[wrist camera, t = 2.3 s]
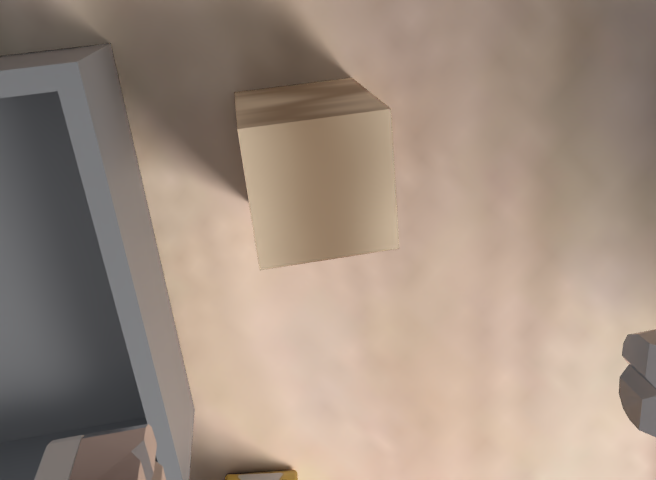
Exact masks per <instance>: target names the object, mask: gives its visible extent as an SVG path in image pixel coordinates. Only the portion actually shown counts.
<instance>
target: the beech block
mask: <svg viewBox="0 0 656 480" xmlns="http://www.w3.org/2000/svg"><path fill="white" fill-rule="evenodd" d="M234 94H235V107H236V121H237V132H238V138H239V144H240V150H241V157H242V163H243V169H244V175H245V182H246V188H247V194H248V200H249V207H250V213H251V219H252V225H253V232H254V238H255V244H256V250H257V256H258V263H259V269H260V270H264V269H271V268H277V267H284V266H290V265H297V264H303V263H309V262H316V261H322V260H329V259H335V258H342V257H348V256H354V255H361V254H367V253H374V252H380V251H387V250H393V249H399V236H398V219H397V202H396V185H395V168H394V151H393V134H392V118H391V108H389V107H388V106H387V105H385V104H384V103H383V102H382V101H380V100H379V99H378V98H377V97H375V96H374V95H373V94H372V93H370V92H369V91H368V90H367V89H365V88H364V87H363V86H361V85H360V84H359V83H358V82H356V81H355V80H354V79H353V78H344V79H336V80H329V81H321V82H313V83H305V84H297V85H289V86H281V87H273V88H265V89H257V90H250V91H242V92H234Z"/></svg>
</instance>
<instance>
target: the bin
mask: <svg viewBox="0 0 656 480" xmlns="http://www.w3.org/2000/svg"><path fill="white" fill-rule="evenodd" d="M194 411H195V409H194V405H193V401H192V396H191V392H190V388H189V383H188V379H187V374H186V370H185V366H184V361H183V357H182V353H181V348H180V344H179V340H178V335H177V331H176V326H175V322H174V318H173V313H172V309H171V305H170V300H169V296H168V292H167V287H166V283H165V279H164V274H163V270H162V265H161V261H160V257H159V252H158V248H157V244H156V239H155V235H154V231H153V226H152V222H151V217H150V213H149V209H148V204H147V200H146V196H145V191H144V187H143V183H142V178H141V174H140V170H139V165H138V161H137V156H136V152H135V148H134V143H133V139H132V135H131V130H130V126H129V122H128V117H127V113H126V108H125V104H124V100H123V95H122V91H121V87H120V82H119V78H118V74H117V69H116V65H115V60H114V56H113V52H112V47H111V43H109V44H101V45H92V46H84V47H75V48H66V49H58V50H49V51H41V52H32V53H24V54H15V55H6V56H0V480H34V478H35V476H36V473H37V470H38V468H39V465H40V462H41V459H42V457H43V454H44V451H45V449H46V446H47V445H48V444H49V443H50V442H51V441H52V440H56V439H62V438H67V437H73V436H78V435H85V434H89V433H95V432H102V431H108V430H114V429H120V428H126V427H132V426H138V425H144V424H149V425H150V426H151V427H152V429H153V433H154V436H155V439H156V443H157V448H156V457H155V461H156V462H158V463H159V464H160V465H162V466H163V469H164V473H165V477H166V480H189V477H190V464H191V451H192V437H193V424H194Z"/></svg>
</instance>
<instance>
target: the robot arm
mask: <svg viewBox="0 0 656 480" xmlns="http://www.w3.org/2000/svg"><path fill="white" fill-rule="evenodd" d="M622 356H623V357H624V359H625V360H626V361H627V362H628V364H629V365H628V367H627V368H626V369H625V371H624V372H623V373H622V375H621V376H620V381H619V396H620V399H621V403H622V406H623V409H624V411H625V413H626V414H627V416H628V418H629V420H630V421H631V422H632V423H633V424H634V425H635V426H636V427H637V428H638V429H639V430H640V431H643V432H645V433H647V434H650V435H652V436H654V437H656V329H655V330H650V331H644V332H639V333H634V334H629V335H627V337H626V339H625V341H624V343H623V351H622ZM156 448H157V443H156V439H155V436H154V433H153V429H152V427H151V426H150V425H149V424H144V425H138V426H132V427H126V428H120V429H114V430H108V431H102V432H95V433H89V434H85V435H78V436H73V437H67V438H62V439H56V440H52V441H51V442H50V443H49V444H48V445H47V446H46V449H45V451H44V454H43V457H42V459H41V462H40V465H39V468H38V470H37V473H36V476H35V478H34V480H166V477H165V473H164V469H163V466H162V465H160V464H159V463H158V462H156V461H155V457H156Z"/></svg>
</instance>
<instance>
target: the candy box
mask: <svg viewBox="0 0 656 480" xmlns="http://www.w3.org/2000/svg"><path fill="white" fill-rule="evenodd" d="M225 480H298V478H297V472H296V471H295V470H287V471H272V472H257V473H246V474H228V475H226V477H225Z"/></svg>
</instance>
